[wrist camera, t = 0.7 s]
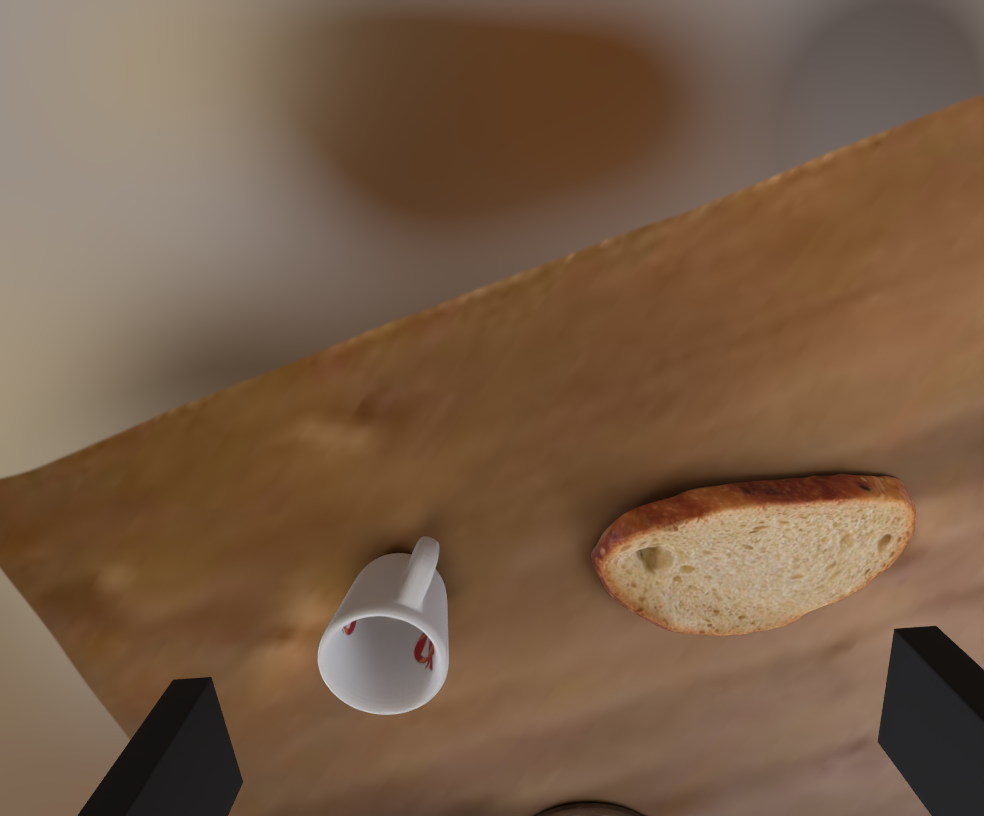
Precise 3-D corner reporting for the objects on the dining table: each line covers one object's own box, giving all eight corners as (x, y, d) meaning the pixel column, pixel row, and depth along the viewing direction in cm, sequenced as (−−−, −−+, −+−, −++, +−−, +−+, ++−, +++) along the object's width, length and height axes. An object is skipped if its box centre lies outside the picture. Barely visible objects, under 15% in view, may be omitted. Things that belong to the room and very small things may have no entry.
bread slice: (930, 500, 40) (972, 528, 36) (757, 675, 45) (779, 714, 41) (729, 363, 37) (753, 379, 33) (567, 566, 42) (573, 599, 38)
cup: (384, 488, 40) (358, 552, 32) (489, 530, 41) (488, 602, 33) (333, 607, 43) (298, 691, 35) (432, 643, 44) (419, 732, 36)
